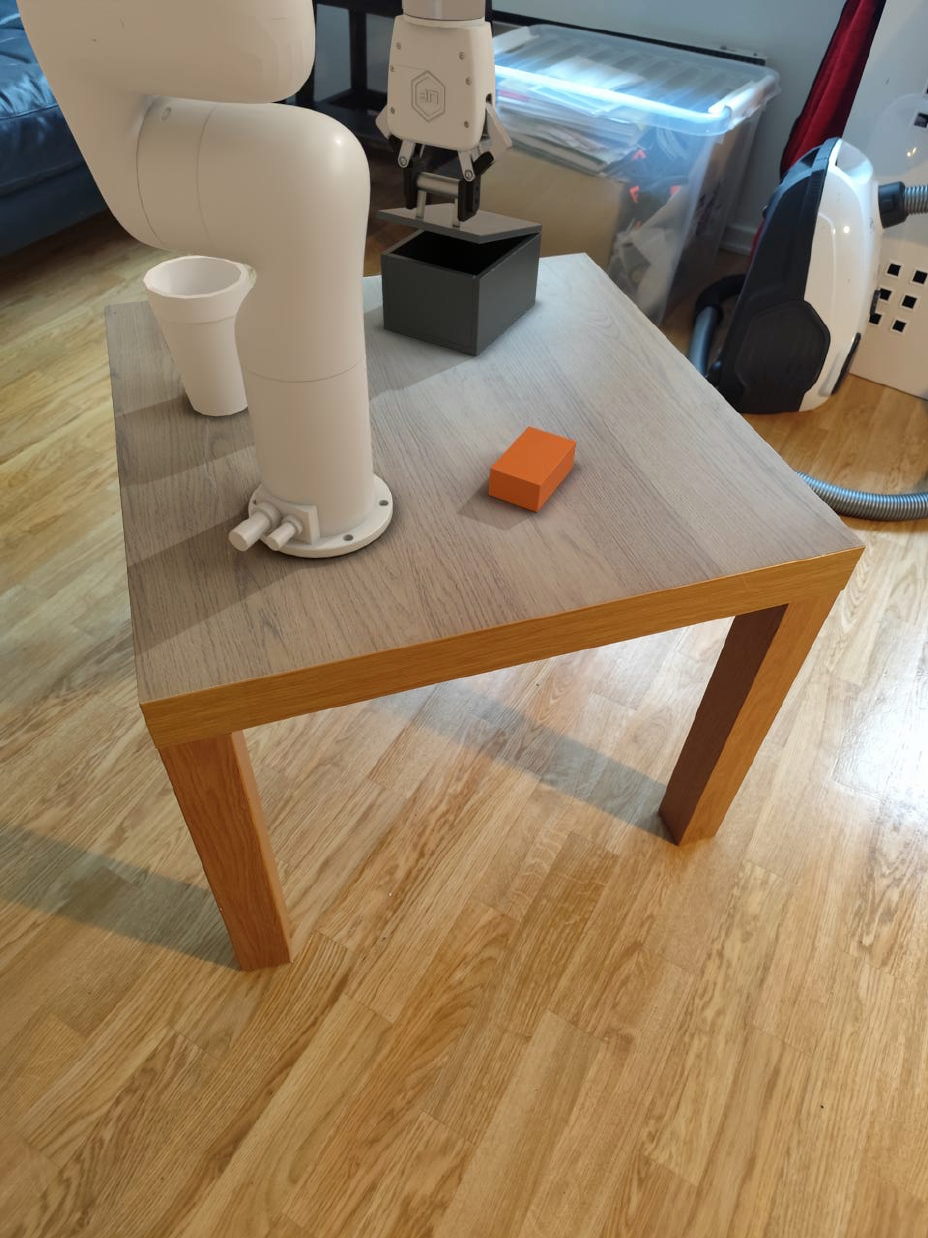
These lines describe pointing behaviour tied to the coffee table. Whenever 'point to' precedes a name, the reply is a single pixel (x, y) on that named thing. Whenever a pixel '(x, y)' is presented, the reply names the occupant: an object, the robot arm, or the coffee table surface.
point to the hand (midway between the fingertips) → (441, 209)
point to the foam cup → (202, 327)
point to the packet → (532, 468)
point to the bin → (458, 287)
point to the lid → (454, 215)
